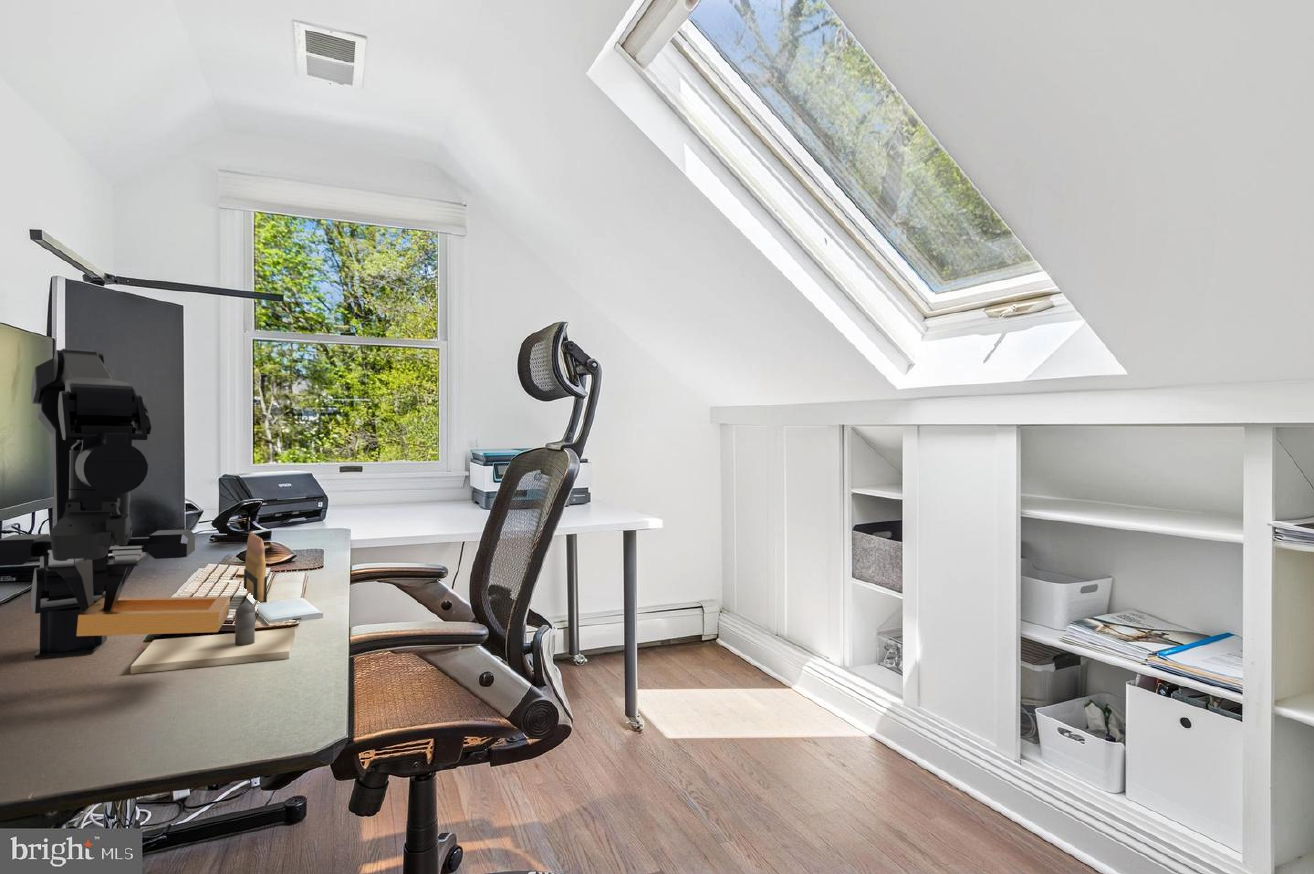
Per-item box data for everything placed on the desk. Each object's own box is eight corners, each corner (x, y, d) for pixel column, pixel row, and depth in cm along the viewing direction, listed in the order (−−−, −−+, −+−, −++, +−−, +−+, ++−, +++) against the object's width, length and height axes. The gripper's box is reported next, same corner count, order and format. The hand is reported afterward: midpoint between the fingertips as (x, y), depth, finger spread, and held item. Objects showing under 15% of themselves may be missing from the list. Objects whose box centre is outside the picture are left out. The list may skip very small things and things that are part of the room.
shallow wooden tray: (76, 636, 80) (78, 614, 81) (100, 617, 89) (102, 597, 89) (217, 632, 86) (219, 612, 86) (228, 614, 94) (230, 596, 94)
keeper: (130, 673, 91) (131, 621, 91) (153, 646, 102) (154, 600, 102) (289, 658, 98) (289, 609, 98) (294, 634, 109) (295, 591, 109)
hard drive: (252, 603, 123) (268, 619, 114) (303, 597, 128) (323, 611, 119) (252, 613, 123) (268, 629, 114) (303, 606, 128) (323, 620, 119)
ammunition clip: (266, 605, 126) (267, 538, 126) (255, 607, 125) (256, 539, 125) (254, 594, 134) (255, 531, 134) (243, 595, 133) (244, 531, 133)
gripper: (-35, 495, 74) (-38, 645, 74) (178, 492, 81) (176, 629, 81) (11, 487, 84) (9, 619, 84) (196, 485, 92) (194, 606, 92)
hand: (98, 618), depth 85 cm, fingers closed on shallow wooden tray, 1 cm apart
